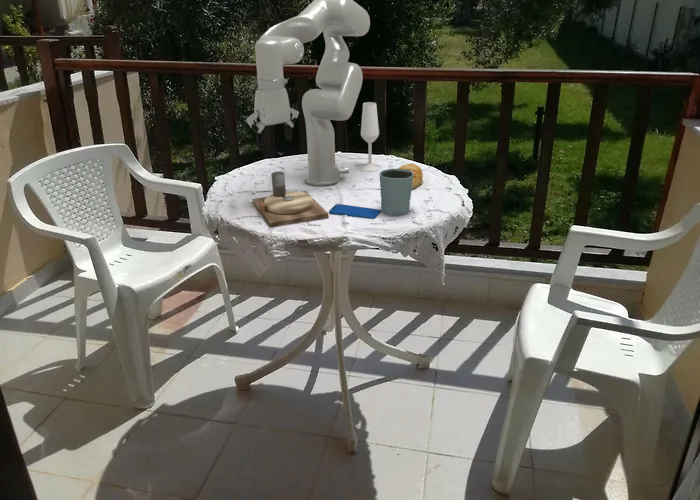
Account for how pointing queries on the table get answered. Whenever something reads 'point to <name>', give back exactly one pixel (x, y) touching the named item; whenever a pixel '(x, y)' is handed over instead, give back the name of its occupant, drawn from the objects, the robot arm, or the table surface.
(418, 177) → the croissant
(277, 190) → the dial
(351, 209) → the smartphone
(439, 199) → the table surface
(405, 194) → the grey-green cup
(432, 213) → the table surface
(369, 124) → the champagne flute
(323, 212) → the board
